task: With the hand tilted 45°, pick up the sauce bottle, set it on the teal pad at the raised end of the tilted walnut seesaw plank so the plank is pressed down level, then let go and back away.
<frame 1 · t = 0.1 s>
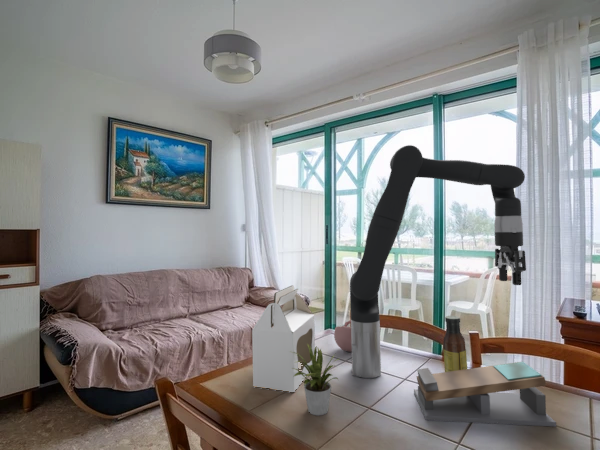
hand: (509, 282, 106), 29 cm above the table, tool pointing down, fingers open, 8 cm apart
sauce bottle: (456, 384, 101), on the table
house plant: (314, 409, 89), on the table
seesaw stand: (477, 408, 87), on the table
seesaw plank: (475, 376, 87), point 8 cm above the table, hinge at -10.0°
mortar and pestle: (350, 351, 131), on the table
gable box: (286, 376, 110), on the table
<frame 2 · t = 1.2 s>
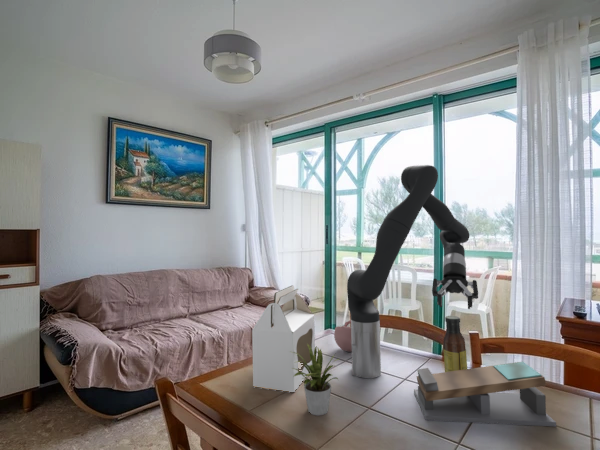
hand: (454, 306, 112), 21 cm above the table, tool tilted 45°, fingers open, 8 cm apart
nothing on the table moved.
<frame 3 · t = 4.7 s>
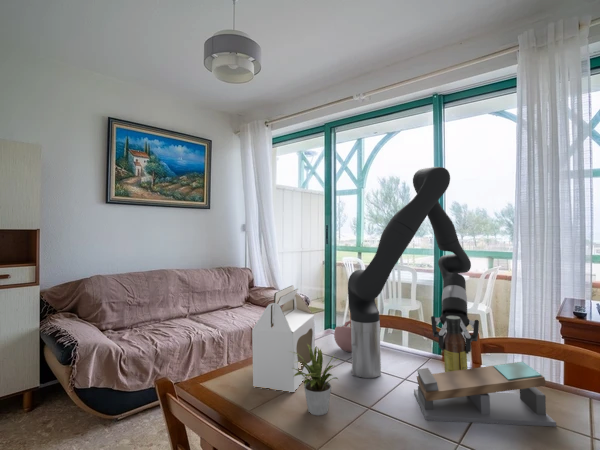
hand: (454, 350, 100), 10 cm above the table, tool tilted 45°, fingers closed on sauce bottle, 6 cm apart
sauce bottle: (456, 384, 101), on the table, touching gripper
everything else where it was.
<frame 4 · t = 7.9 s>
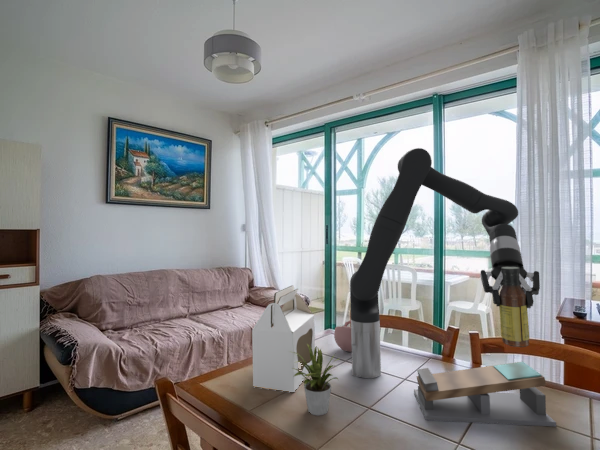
hand: (513, 305, 86), 26 cm above the table, tool tilted 45°, fingers closed on sauce bottle, 6 cm apart
sauce bottle: (514, 344, 88), point 16 cm above the table, touching gripper
everything else where it was.
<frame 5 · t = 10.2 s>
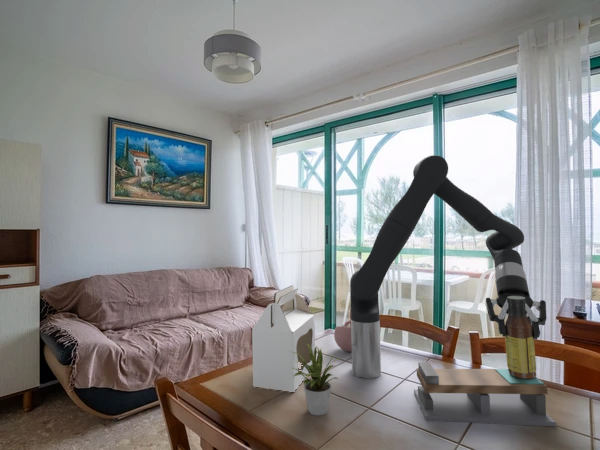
hand: (519, 336, 85), 19 cm above the table, tool tilted 45°, fingers closed on sauce bottle, 6 cm apart
sauce bottle: (521, 375, 86), point 8 cm above the table, touching gripper, seesaw plank
seesaw plank: (476, 376, 87), point 8 cm above the table, hinge at -1.6°, touching sauce bottle
everything else where it was.
when the fingers open (19 cm above the table, at t = 11.3 s): sauce bottle stays where it is, resting on seesaw plank.
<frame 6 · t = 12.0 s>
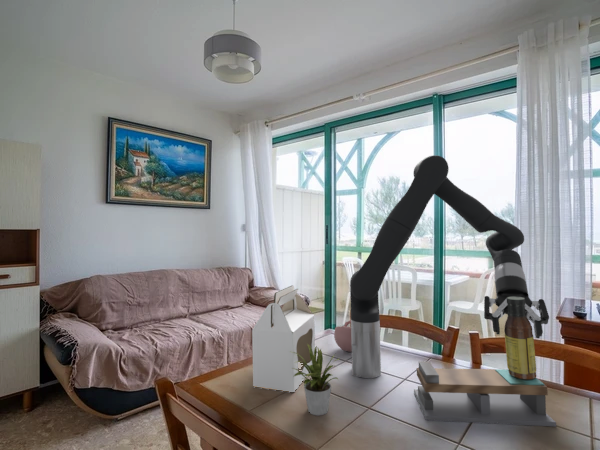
hand: (517, 334, 85), 19 cm above the table, tool tilted 45°, fingers open, 8 cm apart
sauce bottle: (521, 376, 86), point 8 cm above the table, touching seesaw plank
seesaw plank: (476, 376, 87), point 8 cm above the table, hinge at -0.8°, touching sauce bottle
everything else where it was.
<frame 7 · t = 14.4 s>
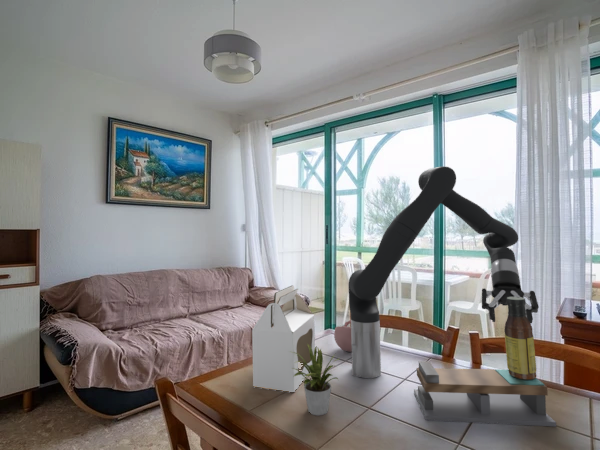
hand: (511, 322, 97), 19 cm above the table, tool tilted 45°, fingers open, 8 cm apart
nothing on the table moved.
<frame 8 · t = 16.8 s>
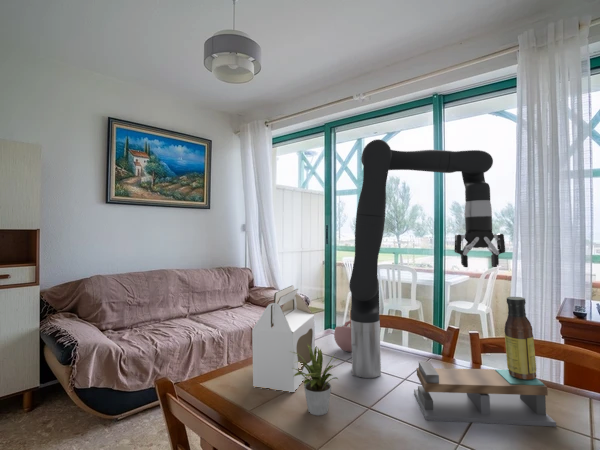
hand: (479, 267, 107), 34 cm above the table, tool pointing down, fingers open, 8 cm apart
nothing on the table moved.
at the end: seesaw plank at -1° (first picture: -10°); sauce bottle inside the target area on the seesaw plank (0.8 cm from its centre), point 2.2 cm above the seesaw plank's base; sauce bottle tilted 1° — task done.
